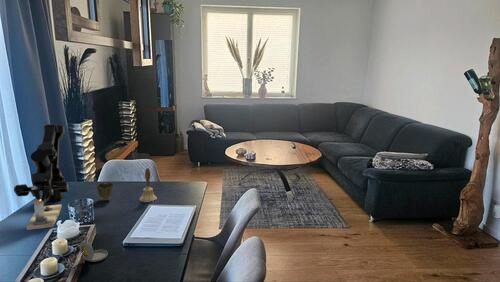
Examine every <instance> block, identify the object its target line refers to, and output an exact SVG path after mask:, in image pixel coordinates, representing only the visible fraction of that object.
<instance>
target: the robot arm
mask: <svg viewBox="0 0 500 282" xmlns="http://www.w3.org/2000/svg"><path fill="white" fill-rule="evenodd" d="M65 133H66V129H65V126H64V125H63V124H55V123H53V124H51V123H48V124H45V125H44V126H43V138H42V142H41V144H38V146H37V148H36V150H35V151H33V152H32V153H31V154H30V159H31V161H32V163H33V165H34V167H35V168H36V172H35V173H31V183H32V185H31V186H28V185H27V183H26V184H25V183H24V184H16V185H14V186H13V187H14V188H13V192H14V193H15V195H16V196H17V197H27V196H29V195H30V193H31V195H32V197H34V198H36V200H37V199H41V200H42V201H43V203H44V205H45V204H46V203H47V202H60V201H62V200H63V199H64V198H65V197H66V195H65V194H64V193H68V192H69V189H70V188H69V187H70V186H69V184H68V182H67V181H66V180H65V177H64V176H63V174H62V172H61V170H60V169H59V164H60V163H59V162H60V161H59V159H60V142H61V141H62V140H63V139H64V134H65ZM41 192H42V193H41Z"/></svg>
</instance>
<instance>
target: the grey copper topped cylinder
mask: <svg viewBox="0 0 500 282" xmlns="http://www.w3.org/2000/svg"><path fill="white" fill-rule="evenodd" d="M44 206H45V204H44V203H43V201H42V200H41V199H37V198H36V199H35V200H34V202H33V207H34V209H33V210H34V213H35V218H36V219H35V221H34V225H40V224H46V222H47V220H48V219H47V217H46V218H45V213H44Z"/></svg>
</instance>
